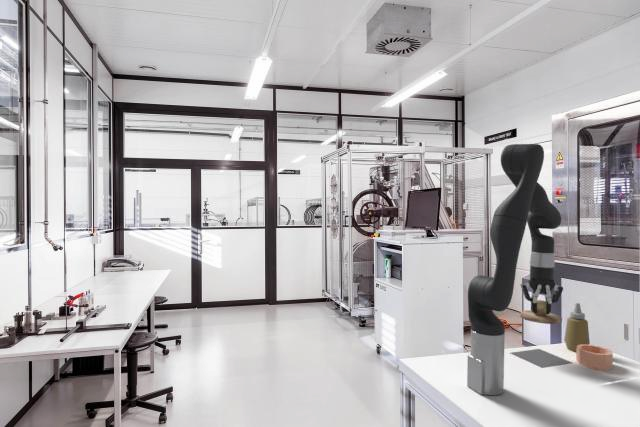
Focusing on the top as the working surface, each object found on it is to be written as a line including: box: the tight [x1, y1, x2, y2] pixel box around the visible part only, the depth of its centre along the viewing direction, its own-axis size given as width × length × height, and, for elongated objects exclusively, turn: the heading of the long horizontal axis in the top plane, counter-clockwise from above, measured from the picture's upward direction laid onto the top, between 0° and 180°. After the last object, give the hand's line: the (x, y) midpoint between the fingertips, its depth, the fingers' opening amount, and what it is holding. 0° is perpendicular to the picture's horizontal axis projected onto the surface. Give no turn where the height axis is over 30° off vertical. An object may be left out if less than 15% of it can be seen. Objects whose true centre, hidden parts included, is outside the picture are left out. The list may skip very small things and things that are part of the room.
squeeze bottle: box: [563, 302, 591, 353], centre depth 151 cm, size 8×8×18 cm
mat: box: [509, 348, 573, 369], centre depth 143 cm, size 14×14×1 cm
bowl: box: [575, 344, 614, 371], centre depth 138 cm, size 10×10×6 cm
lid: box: [519, 299, 563, 325], centre depth 143 cm, size 13×13×6 cm
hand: (540, 313), depth 143 cm, fingers closed on lid, 3 cm apart
